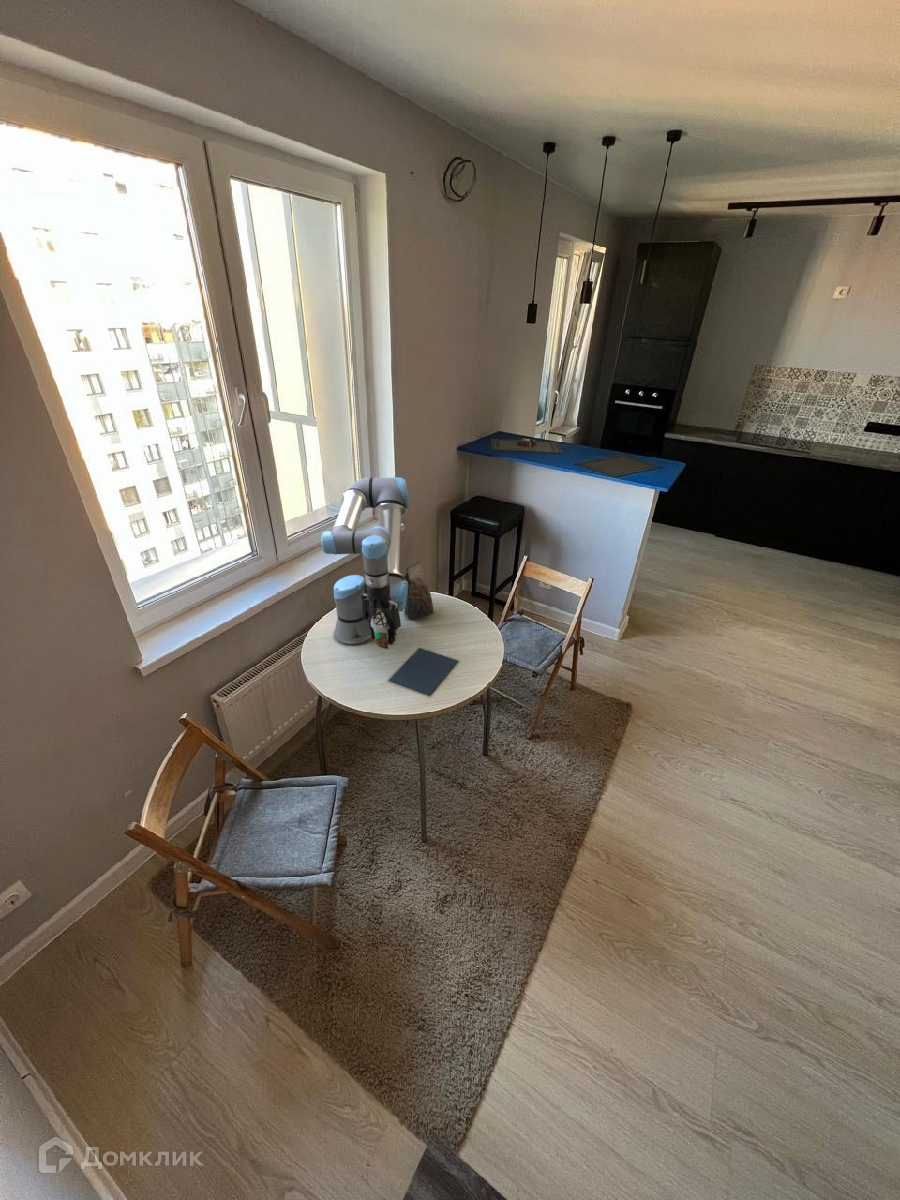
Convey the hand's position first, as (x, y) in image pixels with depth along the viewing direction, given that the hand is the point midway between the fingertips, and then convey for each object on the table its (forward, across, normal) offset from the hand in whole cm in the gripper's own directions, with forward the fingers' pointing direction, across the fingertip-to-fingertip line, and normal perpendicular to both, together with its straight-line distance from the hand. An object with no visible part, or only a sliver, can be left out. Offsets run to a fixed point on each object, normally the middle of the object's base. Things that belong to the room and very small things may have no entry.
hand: (383, 640), depth 171 cm
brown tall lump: (+10, -6, +33) cm, 35 cm away
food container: (+1, -1, 0) cm, 1 cm away
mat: (+9, +15, +2) cm, 18 cm away
